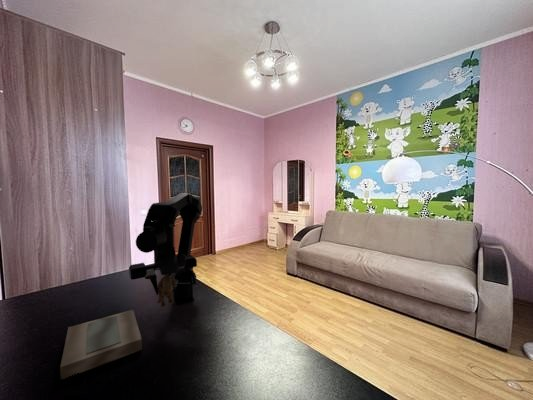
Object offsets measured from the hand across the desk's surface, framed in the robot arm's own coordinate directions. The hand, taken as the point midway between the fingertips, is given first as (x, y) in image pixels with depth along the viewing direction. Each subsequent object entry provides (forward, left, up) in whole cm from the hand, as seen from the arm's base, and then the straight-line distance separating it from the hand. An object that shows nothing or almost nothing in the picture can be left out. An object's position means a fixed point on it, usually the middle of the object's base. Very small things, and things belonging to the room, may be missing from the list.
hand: (165, 292), depth 72 cm
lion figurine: (-1, +1, -3) cm, 3 cm away
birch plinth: (+16, 0, -10) cm, 19 cm away
